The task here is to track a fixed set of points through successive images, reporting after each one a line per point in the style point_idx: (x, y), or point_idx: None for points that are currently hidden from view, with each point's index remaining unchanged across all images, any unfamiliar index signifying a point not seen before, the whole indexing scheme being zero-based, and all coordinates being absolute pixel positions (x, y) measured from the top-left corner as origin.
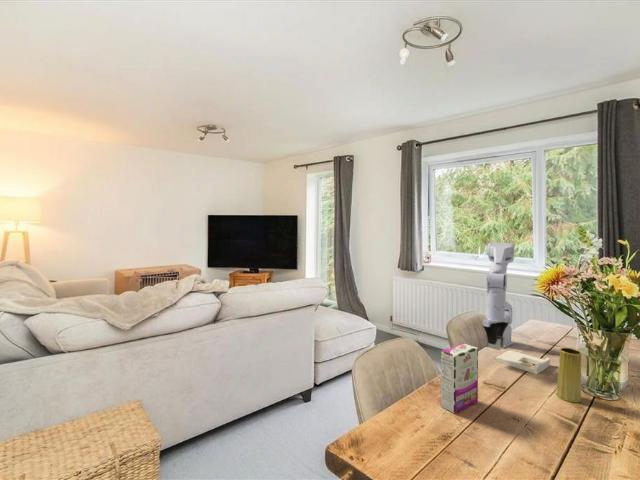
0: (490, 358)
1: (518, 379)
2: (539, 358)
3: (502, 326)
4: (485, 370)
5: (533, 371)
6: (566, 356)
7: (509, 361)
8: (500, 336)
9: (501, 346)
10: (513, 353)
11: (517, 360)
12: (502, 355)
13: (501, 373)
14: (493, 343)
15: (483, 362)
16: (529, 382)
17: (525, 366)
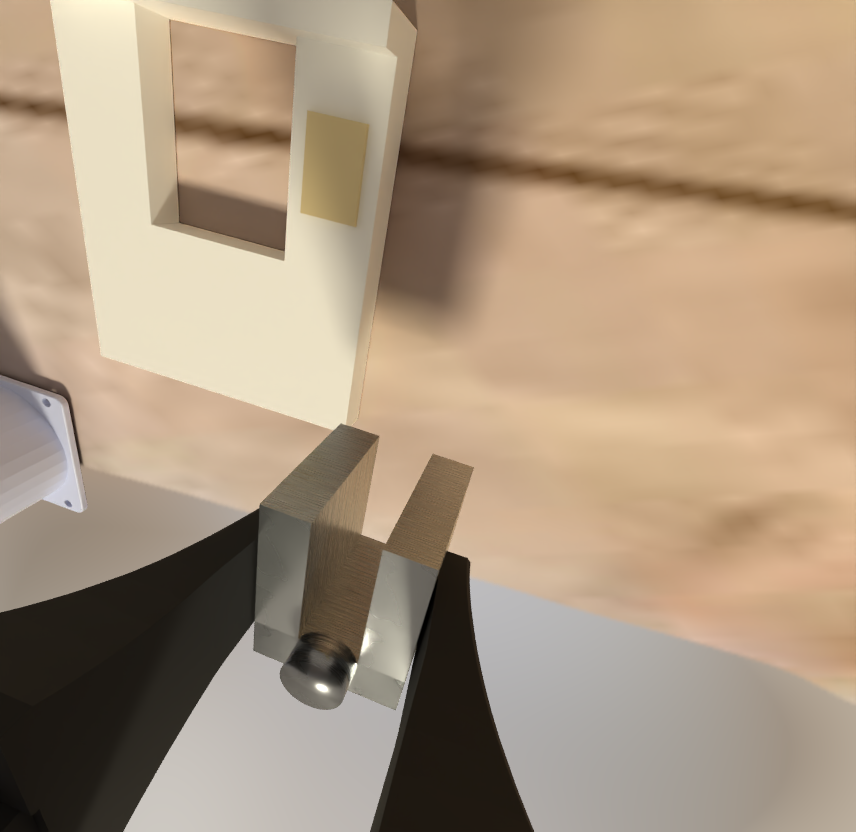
0: None
1: (686, 180)
2: (62, 76)
3: (104, 698)
4: (615, 465)
5: (404, 70)
6: None
7: (360, 323)
8: (266, 554)
9: (367, 461)
10: (147, 320)
11: (279, 262)
12: (262, 392)
13: (610, 346)
14: (469, 577)
15: None
16: (718, 51)
17: (382, 162)
